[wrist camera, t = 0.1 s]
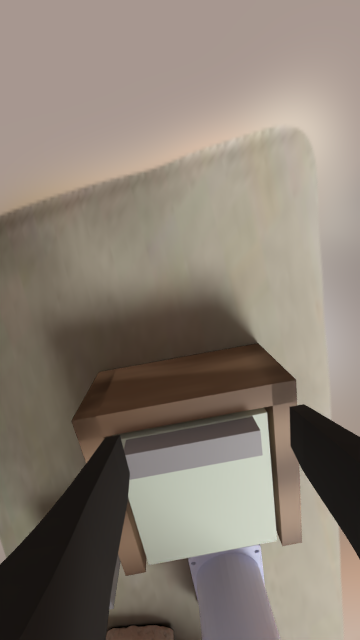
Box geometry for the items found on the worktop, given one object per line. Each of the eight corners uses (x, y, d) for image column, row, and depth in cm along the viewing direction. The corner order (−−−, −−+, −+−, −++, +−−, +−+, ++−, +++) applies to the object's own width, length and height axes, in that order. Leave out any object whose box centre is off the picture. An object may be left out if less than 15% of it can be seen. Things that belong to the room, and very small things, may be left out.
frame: (268, 472, 24) (302, 542, 18) (135, 496, 24) (125, 576, 18) (258, 343, 20) (296, 379, 14) (99, 372, 20) (71, 420, 14)
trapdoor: (271, 525, 19) (284, 560, 17) (149, 548, 19) (147, 586, 17) (260, 402, 16) (275, 426, 14) (114, 429, 16) (106, 457, 13)
